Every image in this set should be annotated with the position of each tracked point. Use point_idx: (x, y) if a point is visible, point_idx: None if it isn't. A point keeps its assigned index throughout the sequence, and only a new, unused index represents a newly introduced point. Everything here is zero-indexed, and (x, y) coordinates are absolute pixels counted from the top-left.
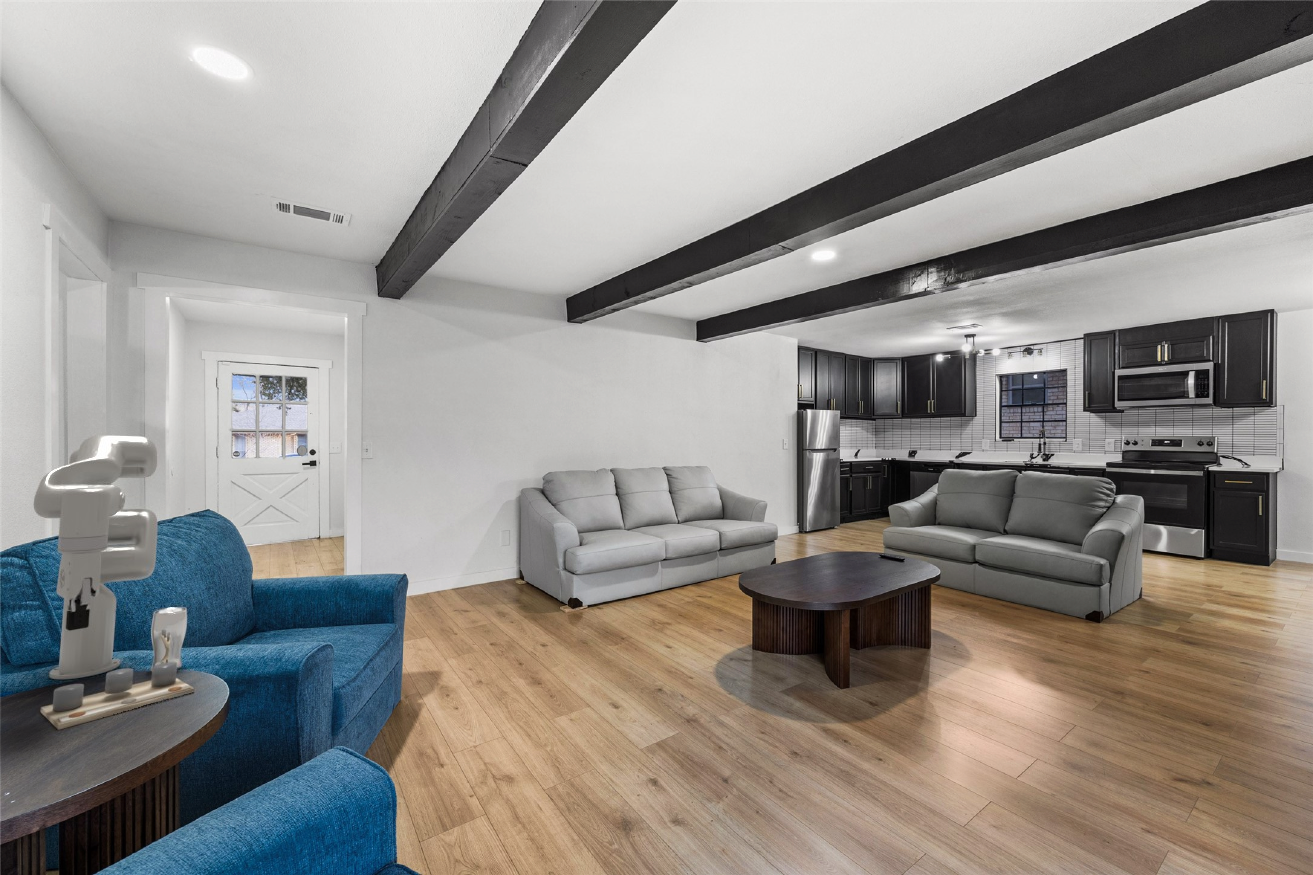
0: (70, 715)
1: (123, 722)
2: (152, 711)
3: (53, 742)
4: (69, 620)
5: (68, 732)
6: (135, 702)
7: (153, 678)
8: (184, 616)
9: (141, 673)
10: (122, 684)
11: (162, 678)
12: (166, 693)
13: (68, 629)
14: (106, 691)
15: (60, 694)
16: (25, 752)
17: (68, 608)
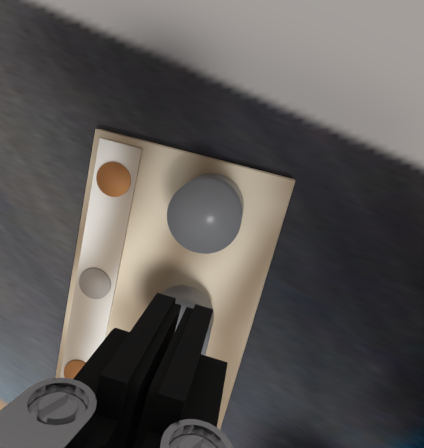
0: (118, 167)
1: (8, 214)
2: (20, 279)
3: (22, 81)
4: (130, 332)
5: (59, 129)
6: (76, 285)
7: None
8: None
9: (353, 444)
10: None
11: None
12: (67, 347)
13: (155, 295)
14: (181, 287)
15: (185, 184)
16: (14, 21)
17: (221, 446)
